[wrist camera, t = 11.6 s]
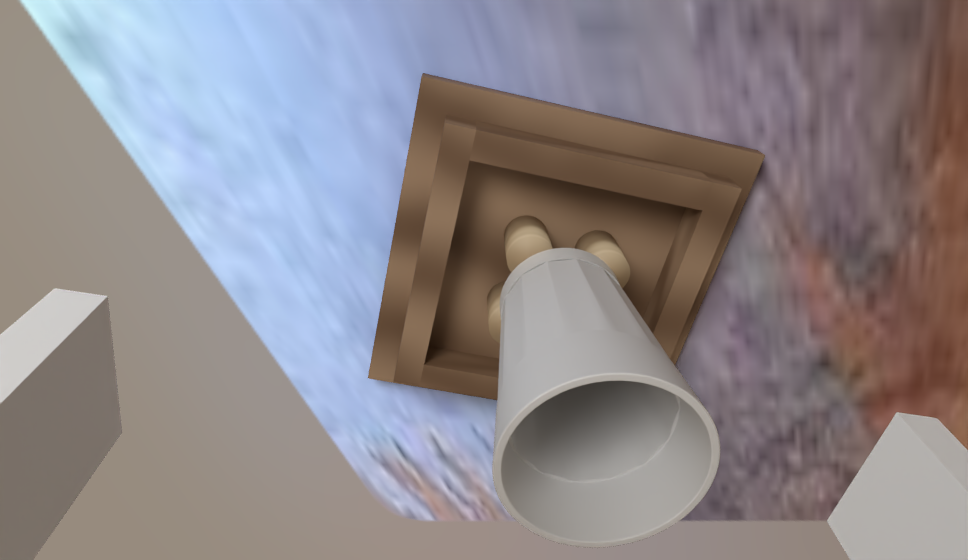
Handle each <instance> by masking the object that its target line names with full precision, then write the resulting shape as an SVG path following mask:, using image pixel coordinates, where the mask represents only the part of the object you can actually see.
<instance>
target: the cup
mask: <svg viewBox="0 0 968 560" xmlns="http://www.w3.org/2000/svg"><path fill="white" fill-rule="evenodd" d="M500 316H501V333H500V355H499V377H498V400H497V409H496V423H495V437H494V452H493V467H492V472H493V481H494V486H495V489H496V492H497V494H498V497H499V499H500V501H501V503H502V504H503V506H504V507H505V509H506V510H507V511H508V513H509V514H510V515H511V516H512V517H513V518H514V519H515V520H516V521H517V522H518V523H520V524H521V525H522V526H523V527H525V528H526V529H528V530H529V531H531V532H533V533H534V534H536V535H538V536H541V537H543V538H545V539H548V540H550V541H553V542H557V543H561V544H565V545H570V546H576V547H589V548H593V547H594V548H596V547H612V546H619V545H624V544H629V543H633V542H636V541H640V540H642V539H645V538H648V537H651V536H653V535H655V534H658V533H659V532H662V531H663V530H665V529H667V528H669V527H671V526H672V525H674V524H675V523H677V522H678V521H680V520H681V519H682V518H684V517H685V516H686V515H687V514H688V513H689V512H691V511H692V510H693V509H694V508H695V507H696V506H697V504H698V503H699V502H700V501H701V500H702V498H703V497H704V496H705V494H706V493H707V491H708V490H709V488H710V486H711V485H712V482H713V480H714V478H715V475H716V473H717V469H718V465H719V460H720V441H719V436H718V432H717V429H716V426H715V424H714V422H713V420H712V418H711V416H710V414H709V413H708V411H707V410H706V409H705V407H704V406H703V404H702V403H701V402H700V400H699V399H698V397H697V396H696V395H695V393H694V392H693V390H692V389H691V388H690V386H689V385H688V383H687V382H686V381H685V379H684V378H683V376H682V375H681V374H680V372H679V371H678V369H677V368H676V367H675V365H674V364H673V362H672V361H671V360H670V358H669V357H668V355H667V354H666V352H665V351H664V349H663V348H662V346H661V345H660V344H659V342H658V341H657V339H656V338H655V336H654V335H653V333H652V332H651V330H650V329H649V327H648V326H647V324H646V323H645V321H644V320H643V318H642V317H641V316H640V314H639V313H638V311H637V310H636V308H635V307H634V305H633V304H632V302H631V301H630V299H629V298H628V296H627V295H626V293H625V292H624V291H623V289H622V288H621V286H620V284H619V282H618V280H617V278H616V276H615V274H614V272H613V271H612V269H611V268H610V267H609V266H608V265H607V264H606V263H605V262H604V261H603V260H601V259H600V258H599V257H597V256H595V255H593V254H591V253H589V252H586V251H583V250H580V249H574V248H555V249H549V250H545V251H542V252H539V253H537V254H535V255H533V256H531V257H529V258H527V259H526V260H524V261H523V262H522V263H520V264H519V265H518V266H517V267H516V268H515V269H514V270H513V271H512V273H511V274H510V275H509V277H508V278H507V280H506V282H505V284H504V286H503V288H502V292H501V296H500Z"/></svg>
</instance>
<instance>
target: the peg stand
mask: <svg viewBox="0 0 968 560" xmlns="http://www.w3.org/2000/svg"><path fill="white" fill-rule="evenodd" d="M764 157H765V155H764V154H762V153H761V152H759V151H758V150H754V149H750V148H745V147H741V146H737V145H732V144H728V143H724V142H719V141H715V140H711V139H706V138H702V137H698V136H693V135H689V134H685V133H680V132H676V131H672V130H667V129H663V128H659V127H654V126H650V125H646V124H641V123H637V122H633V121H628V120H624V119H620V118H615V117H611V116H607V115H602V114H598V113H594V112H589V111H585V110H581V109H576V108H572V107H568V106H563V105H559V104H555V103H550V102H546V101H542V100H537V99H533V98H529V97H524V96H520V95H516V94H511V93H507V92H503V91H498V90H494V89H490V88H485V87H481V86H477V85H472V84H468V83H464V82H459V81H455V80H451V79H446V78H442V77H438V76H433V75H429V74H425V73H423V74H422V77H421V83H420V89H419V94H418V100H417V106H416V111H415V117H414V122H413V128H412V134H411V139H410V145H409V150H408V156H407V162H406V167H405V173H404V179H403V184H402V190H401V195H400V201H399V207H398V212H397V218H396V223H395V229H394V235H393V240H392V246H391V251H390V257H389V263H388V268H387V274H386V280H385V285H384V291H383V296H382V302H381V308H380V313H379V319H378V324H377V330H376V336H375V341H374V347H373V353H372V358H371V364H370V369H369V375H368V378H370V379H376V380H382V381H387V382H393V383H399V384H405V385H411V386H417V387H423V388H429V389H435V390H441V391H446V392H452V393H458V394H464V395H470V396H476V397H482V398H488V399H494V400H498V377H499V355H500V333H501V316H500V296H501V292H502V288H503V286H504V284H505V282H506V280H507V278H508V277H509V275H510V274H511V273H512V271H513V270H514V269H515V268H516V267H517V266H518V265H519V264H520V263H522V262H523V261H524V260H526V259H527V258H529V257H531V256H533V255H535V254H537V253H539V252H542V251H545V250H549V249H555V248H574V249H580V250H583V251H586V252H589V253H591V254H593V255H595V256H597V257H599V258H600V259H601V260H603V261H604V262H605V263H606V264H607V265H608V266H609V267H610V268H611V269H612V271H613V272H614V274H615V276H616V278H617V280H618V282H619V284H620V286H621V288H622V289H623V291H624V292H625V293H626V295H627V296H628V298H629V299H630V301H631V302H632V304H633V305H634V307H635V308H636V310H637V311H638V313H639V314H640V316H641V317H642V318H643V320H644V321H645V323H646V324H647V326H648V327H649V329H650V330H651V332H652V333H653V335H654V336H655V338H656V339H657V341H658V342H659V344H660V345H661V346H662V348H663V349H664V351H665V352H666V354H667V355H668V357H669V358H670V360H671V361H672V362H673V364H674V365H675V364H676V362H677V359H678V357H679V355H680V352H681V350H682V348H683V345H684V343H685V341H686V338H687V336H688V334H689V331H690V329H691V327H692V324H693V322H694V320H695V317H696V315H697V313H698V311H699V308H700V306H701V304H702V301H703V299H704V297H705V294H706V292H707V290H708V287H709V285H710V283H711V280H712V278H713V276H714V273H715V271H716V269H717V266H718V264H719V262H720V259H721V257H722V255H723V252H724V250H725V248H726V245H727V243H728V241H729V239H730V236H731V234H732V232H733V229H734V227H735V225H736V222H737V220H738V218H739V215H740V213H741V211H742V208H743V206H744V204H745V201H746V199H747V197H748V194H749V192H750V190H751V187H752V185H753V183H754V180H755V178H756V176H757V173H758V171H759V169H760V166H761V164H762V162H763V160H764Z"/></svg>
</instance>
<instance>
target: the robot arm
mask: <svg viewBox="0 0 968 560" xmlns="http://www.w3.org/2000/svg"><path fill="white" fill-rule="evenodd" d="M121 433H122V426H121V417H120V407H119V398H118V389H117V379H116V370H115V360H114V351H113V341H112V333H111V322H110V313H109V303H108V296H103V295H96V294H90V293H83V292H76V291H69V290H62V289H56V288H55V289H53V290H52V291H51V292H50V293H49V294H47V295H46V296H45V297H44V298H43V299H42V300H41V301H39V302H38V303H37V304H36V305H35V306H33V308H31V309H30V310H29V311H28V312H26V313H25V314H24V315H23V316H22V317H21V318H19V319H18V320H17V321H16V322H15V323H14V324H12V325H11V326H10V327H9V328H8V329H7V330H5V331H4V332H3V333H2V334H1V335H0V560H33V559H34V558H35V556H36V555H37V554H38V552H39V551H40V549H41V548H42V546H43V545H44V544H45V542H46V541H47V539H48V537H49V536H50V535H51V533H52V532H53V531H54V529H55V528H56V526H57V525H58V524H59V522H60V521H61V519H62V518H63V516H64V515H65V514H66V512H67V511H68V509H69V508H70V506H71V505H72V503H73V502H74V501H75V499H76V498H77V496H78V495H79V493H80V492H81V491H82V489H83V488H84V486H85V485H86V483H87V482H88V481H89V479H90V478H91V476H92V475H93V473H94V472H95V470H96V469H97V467H98V466H99V465H100V463H101V462H102V461H103V459H104V458H105V456H106V455H107V453H108V452H109V450H110V449H111V447H112V446H113V445H114V443H115V442H116V440H117V439H118V438H119V436H120V435H121ZM827 522H828V524H829V525H830V527H831V529H832V530H833V532H834V534H835V535H836V537H837V539H838V540H839V542H840V543H841V545H842V547H843V549H844V550H845V552H846V553H847V555H848V557H849V558H850V560H968V450H967V449H966V448H965V447H964V446H963V445H962V444H961V443H960V442H959V441H958V440H957V439H956V438H955V437H954V436H953V435H952V433H951V432H950V431H949V430H948V429H947V428H946V427H945V426H944V425H943V424H942V423H941V422H940V421H939V420H938V419H937V418H932V417H926V416H919V415H912V414H905V413H898V412H897V413H896V414H895V416H894V417H893V419H892V421H891V422H890V424H889V425H888V427H887V428H886V430H885V431H884V433H883V435H882V436H881V438H880V439H879V441H878V442H877V444H876V445H875V447H874V449H873V450H872V452H871V453H870V455H869V456H868V458H867V459H866V461H865V463H864V464H863V466H862V467H861V469H860V470H859V472H858V473H857V475H856V477H855V478H854V480H853V481H852V483H851V484H850V486H849V487H848V489H847V490H846V492H845V494H844V495H843V497H842V498H841V500H840V501H839V503H838V504H837V506H836V508H835V509H834V511H833V512H832V514H831V515H830V517H829V518H828V520H827Z"/></svg>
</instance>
